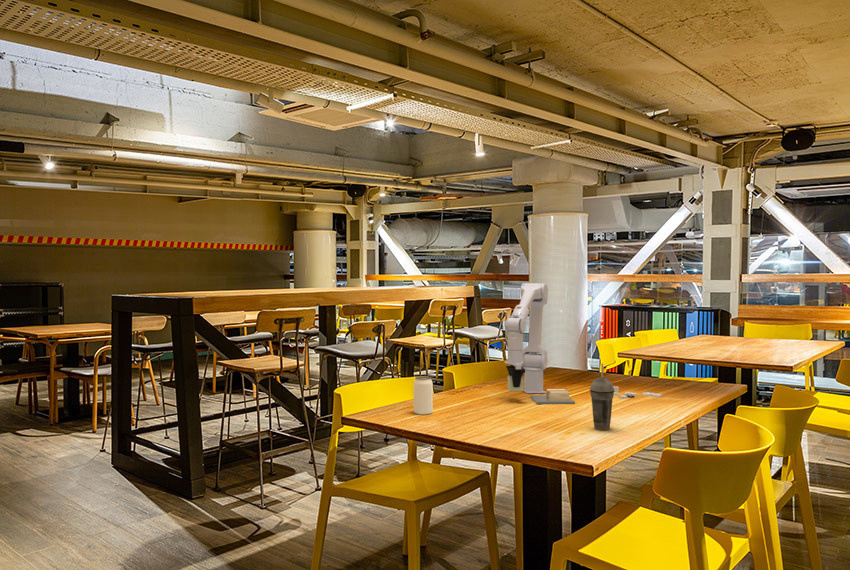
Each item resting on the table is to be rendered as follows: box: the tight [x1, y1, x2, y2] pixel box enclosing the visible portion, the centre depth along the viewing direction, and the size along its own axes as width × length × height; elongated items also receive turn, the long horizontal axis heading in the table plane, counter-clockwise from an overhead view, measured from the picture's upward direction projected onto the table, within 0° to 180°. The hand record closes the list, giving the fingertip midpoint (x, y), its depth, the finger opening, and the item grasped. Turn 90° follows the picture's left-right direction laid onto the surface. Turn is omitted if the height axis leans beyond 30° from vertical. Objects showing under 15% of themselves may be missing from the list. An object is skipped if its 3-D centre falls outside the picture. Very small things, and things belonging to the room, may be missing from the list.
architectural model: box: [613, 385, 663, 400], centre depth 245 cm, size 20×24×2 cm
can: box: [413, 376, 434, 416], centre depth 214 cm, size 6×6×12 cm
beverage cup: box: [589, 363, 615, 431], centre depth 192 cm, size 7×7×20 cm
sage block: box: [507, 375, 524, 392], centre depth 235 cm, size 5×5×5 cm
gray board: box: [529, 394, 576, 405], centre depth 236 cm, size 13×14×1 cm
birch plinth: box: [545, 388, 570, 401], centre depth 236 cm, size 7×7×3 cm
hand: (515, 385), depth 235 cm, fingers closed on sage block, 5 cm apart
